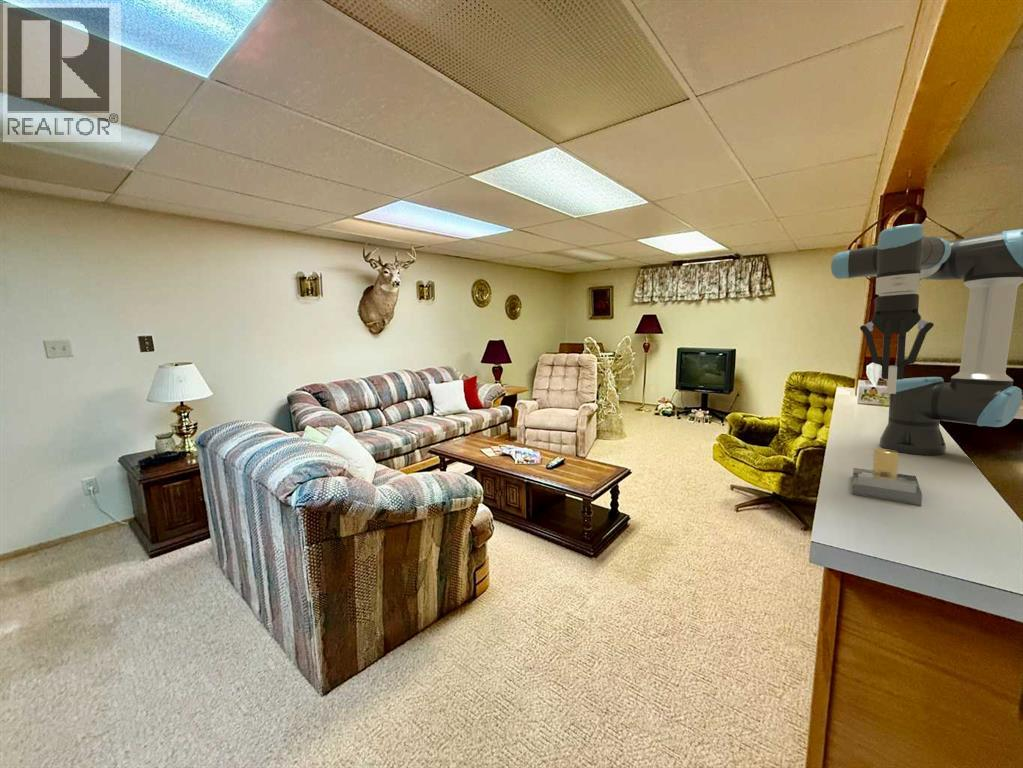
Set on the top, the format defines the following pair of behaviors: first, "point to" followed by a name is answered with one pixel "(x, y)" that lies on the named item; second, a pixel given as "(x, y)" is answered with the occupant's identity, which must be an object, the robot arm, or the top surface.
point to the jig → (886, 487)
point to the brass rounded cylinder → (885, 463)
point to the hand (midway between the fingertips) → (891, 392)
